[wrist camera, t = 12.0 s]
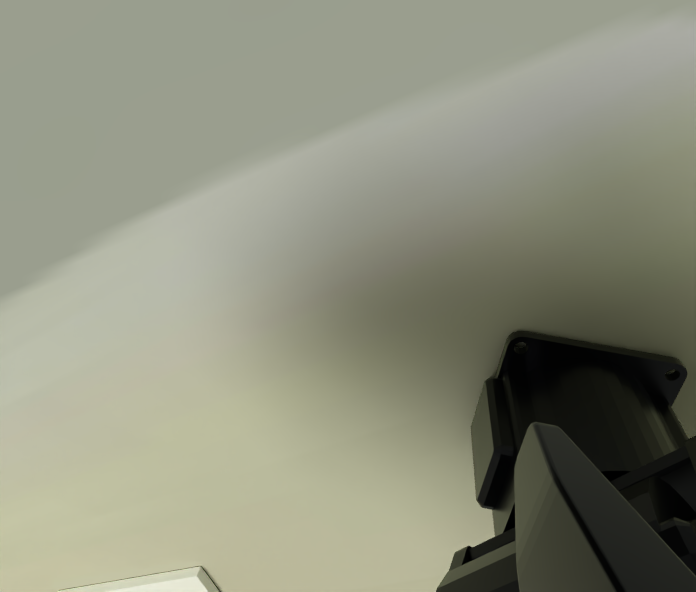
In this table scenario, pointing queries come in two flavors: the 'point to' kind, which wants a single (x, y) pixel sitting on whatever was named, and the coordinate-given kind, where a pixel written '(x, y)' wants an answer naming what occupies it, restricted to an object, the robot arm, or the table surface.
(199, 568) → the mat
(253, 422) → the table surface
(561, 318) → the table surface
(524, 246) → the table surface
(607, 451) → the robot arm
